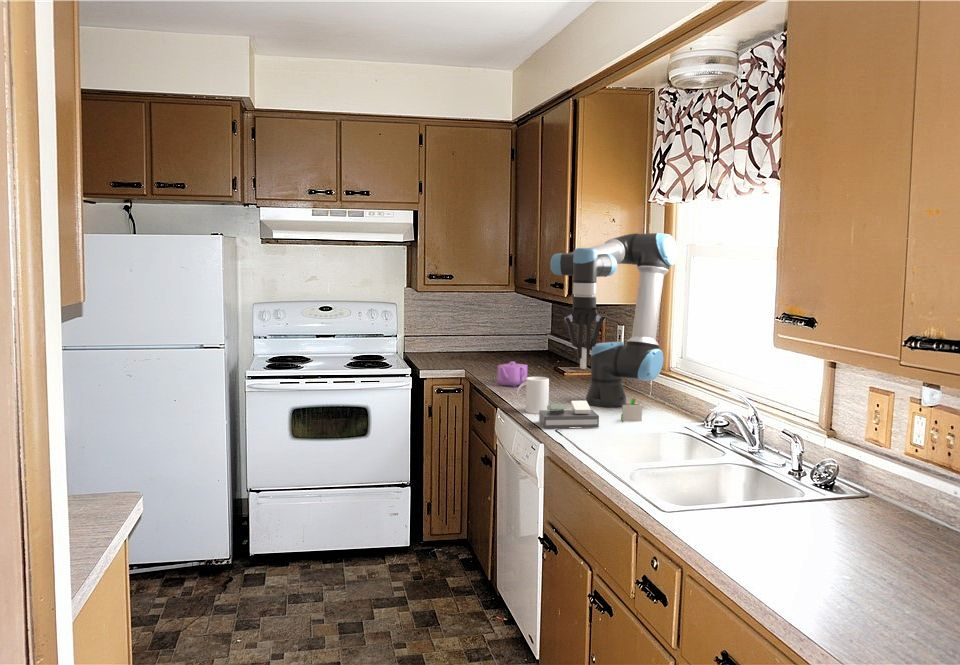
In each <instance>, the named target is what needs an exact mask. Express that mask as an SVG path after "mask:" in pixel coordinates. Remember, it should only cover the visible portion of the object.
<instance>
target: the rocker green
mask: <svg viewBox="0 0 960 665" xmlns="http://www.w3.org/2000/svg"><path fill="white" fill-rule="evenodd" d="M567 406H568V405H567V404H549V405H548V406H547V410H568V407H567Z"/></svg>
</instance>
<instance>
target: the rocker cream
mask: <svg viewBox="0 0 960 665" xmlns="http://www.w3.org/2000/svg"><path fill="white" fill-rule="evenodd" d="M570 406H571V408H572V410H574V413H575V414H591V410H592V409H591V407H590V404H588V403H587V401H586V400H571V401H570Z"/></svg>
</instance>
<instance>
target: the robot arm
mask: <svg viewBox="0 0 960 665" xmlns="http://www.w3.org/2000/svg"><path fill="white" fill-rule="evenodd" d="M677 259H678V247H677V243H676V240H675V239H674V237H673V236H672V235H671V234H668V233H661V232H657V233H653V232H652V233H636V232H635V233H628V234H624V235H621V236H617V237H614V238H610V239H608V240H606V241H605V242H604V243H603V244H598V245H594V246H591V247H576V248H575V249H574V251H571V252H566V253H564V252H560V253H554V254H553V255H552V256H551V259H550V264H549V265H550V270H551V272H552V273H553V275H555V276H562V277H564V276H571V277H572V278H573V281H572V295H574V296H573V297H572V311H571V312H570V314H569V315H568V316H565V317H564V322H565V323H566V324H567V329H568V334H569V338H570V343H571V347H575V348H576V349H577V350H576V357H577V358H578V359H579V368H580V369H583V370H585V369H587V359H590V357H591V359H590V360H591V361H590V371H591V372H590V385H589V387H588V390H587V392H586V396H585V401H587V403H588V405H589V406H595V407H603V408H604V407H606V408H608V407H609V408H612V407H614V408H615V407H617V408H618V407H623V406H622V404H627V396H626V392H625V388H624V385H623V379H631V380H639V381H654V380H655V379H657V378H658V376H659V375H660V373H661V372H662V368H663V366H664V358H665V357H664V352H663V351H662V350H661V349H660V344H659V343H658V341H656V339H657V330H658V325H659V324H658V323H659V315H660V309H661V308H660V307H661V300H662V292H663V287H664V286H663V285H664V278H665V275H667V274H668V273H669V271H670V267H672V266H674V265H676V262H677ZM618 265H634V266H635V265H636V269H637V270H638V272H639V281H638V289H637V296H636V302H635V311H634V316H633V326H632V333H631V337H630V338H629V339H627V341H626V345H625V344H624V343H623V341H607V342H606V341H605V342H599V343H597V341H598V337H599V334H600V328H601V325H602V324H603V322H604V321H605V319H604V317H603V316H600V315H599V314H598V311H597V297H596V295H597V277H598V278H599V277H603V278H606V277H611V276H612V275H614V274H615V272H616V271H617V267H618ZM594 320H595V324H594V326H593V327H594V328H593V331H592V334H591V328H592V323H593V322H594ZM573 321H575V323H576V327H577V329H576V332H577V335H575V334H576V333H575V330H574V326H573ZM583 329H584V334H583ZM583 335H584V347H583ZM576 337H577V338H576ZM590 350H591V351H590ZM590 352H591V354H590Z"/></svg>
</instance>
